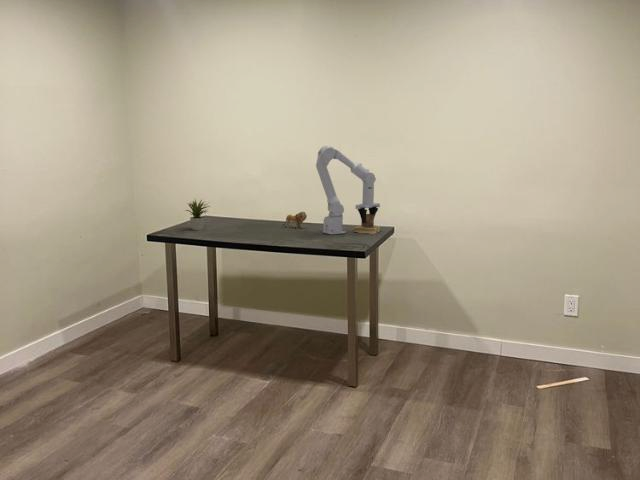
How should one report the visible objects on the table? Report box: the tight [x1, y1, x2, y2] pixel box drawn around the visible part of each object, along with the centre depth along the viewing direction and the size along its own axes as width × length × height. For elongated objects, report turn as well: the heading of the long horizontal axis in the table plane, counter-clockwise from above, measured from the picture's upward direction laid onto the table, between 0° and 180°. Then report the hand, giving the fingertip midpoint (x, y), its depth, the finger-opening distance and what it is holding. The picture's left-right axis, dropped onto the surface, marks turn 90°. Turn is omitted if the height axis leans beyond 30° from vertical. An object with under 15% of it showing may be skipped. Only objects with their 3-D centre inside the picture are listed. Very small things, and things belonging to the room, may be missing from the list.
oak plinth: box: [353, 224, 381, 235], centre depth 310 cm, size 11×11×3 cm
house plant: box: [184, 198, 211, 231], centre depth 312 cm, size 14×14×16 cm
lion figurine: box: [282, 211, 308, 229], centre depth 321 cm, size 15×5×9 cm, turn 63°
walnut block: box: [360, 213, 375, 227], centre depth 309 cm, size 4×4×6 cm
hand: (367, 221), depth 309 cm, fingers open, 5 cm apart
